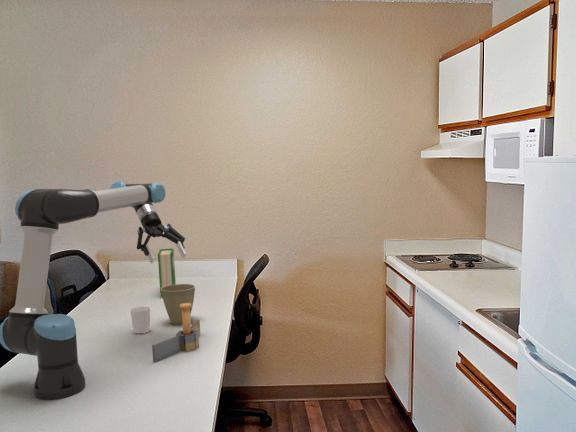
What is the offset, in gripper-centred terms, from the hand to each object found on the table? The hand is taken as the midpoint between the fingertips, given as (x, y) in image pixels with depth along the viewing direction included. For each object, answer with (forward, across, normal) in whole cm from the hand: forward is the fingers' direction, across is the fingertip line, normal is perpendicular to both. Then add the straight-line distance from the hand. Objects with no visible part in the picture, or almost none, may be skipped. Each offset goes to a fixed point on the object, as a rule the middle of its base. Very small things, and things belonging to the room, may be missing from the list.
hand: (169, 258), depth 210 cm
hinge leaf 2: (+27, -5, -20) cm, 34 cm away
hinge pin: (+31, -1, -17) cm, 35 cm away
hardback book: (-30, -38, -78) cm, 92 cm away
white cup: (+7, +3, -41) cm, 41 cm away
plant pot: (+7, -16, -41) cm, 44 cm away
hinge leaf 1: (+32, +6, -16) cm, 36 cm away
